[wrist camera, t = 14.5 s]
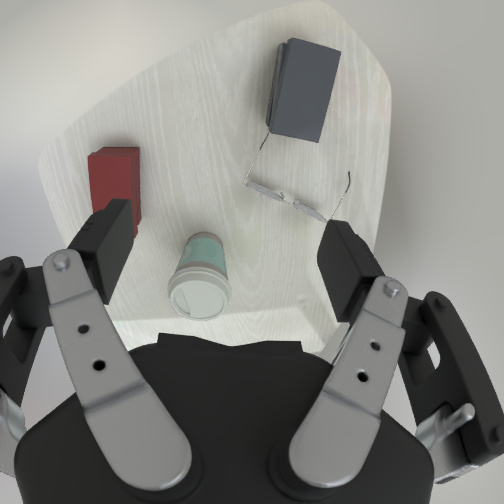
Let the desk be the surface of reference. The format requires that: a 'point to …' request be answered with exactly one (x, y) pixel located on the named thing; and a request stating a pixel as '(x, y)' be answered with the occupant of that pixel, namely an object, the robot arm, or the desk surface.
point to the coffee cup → (200, 280)
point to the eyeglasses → (278, 198)
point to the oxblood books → (137, 174)
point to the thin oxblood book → (112, 180)
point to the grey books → (301, 89)
